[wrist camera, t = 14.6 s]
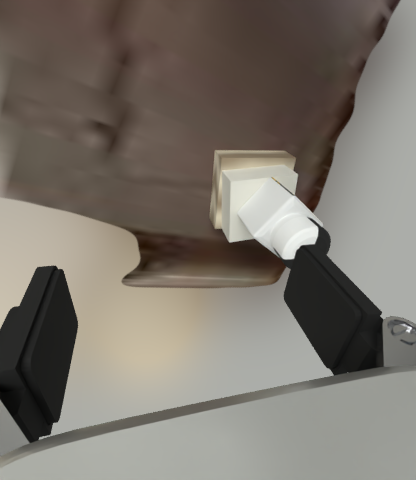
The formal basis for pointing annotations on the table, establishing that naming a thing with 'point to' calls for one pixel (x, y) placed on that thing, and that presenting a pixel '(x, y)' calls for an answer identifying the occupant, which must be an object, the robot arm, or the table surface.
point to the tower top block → (248, 194)
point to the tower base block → (240, 161)
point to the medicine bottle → (282, 222)
